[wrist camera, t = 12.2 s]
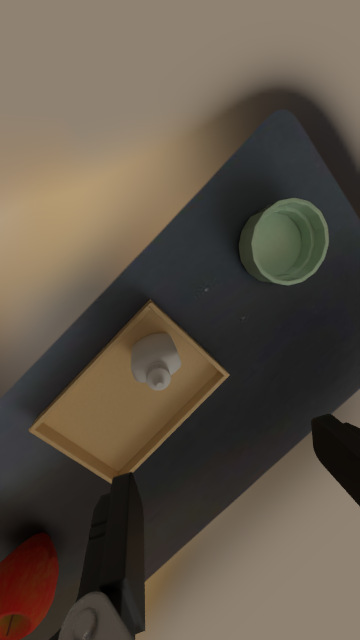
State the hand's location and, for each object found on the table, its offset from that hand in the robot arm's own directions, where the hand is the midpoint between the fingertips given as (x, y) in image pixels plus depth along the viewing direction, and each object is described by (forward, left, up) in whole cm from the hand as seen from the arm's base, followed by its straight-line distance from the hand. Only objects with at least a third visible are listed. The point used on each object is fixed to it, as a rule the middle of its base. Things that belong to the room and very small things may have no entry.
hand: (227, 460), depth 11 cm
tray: (+9, -7, -26) cm, 28 cm away
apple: (+29, -27, -26) cm, 47 cm away
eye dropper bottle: (+2, -3, -25) cm, 25 cm away
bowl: (-7, +17, -26) cm, 32 cm away
